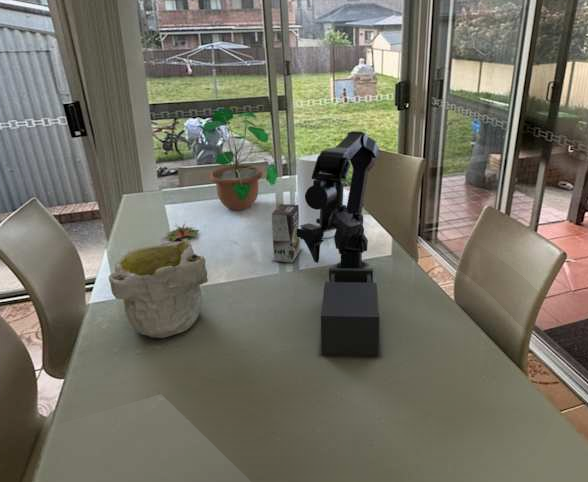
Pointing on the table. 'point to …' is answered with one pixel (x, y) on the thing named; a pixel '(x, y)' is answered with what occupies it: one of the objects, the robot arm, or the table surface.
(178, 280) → the ceramic vessel
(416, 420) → the table surface
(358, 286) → the dark grey rectangular box
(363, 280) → the dark grey boxy piece
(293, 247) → the coffee box
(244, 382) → the table surface
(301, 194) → the cylinder
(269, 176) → the potted plant
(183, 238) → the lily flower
